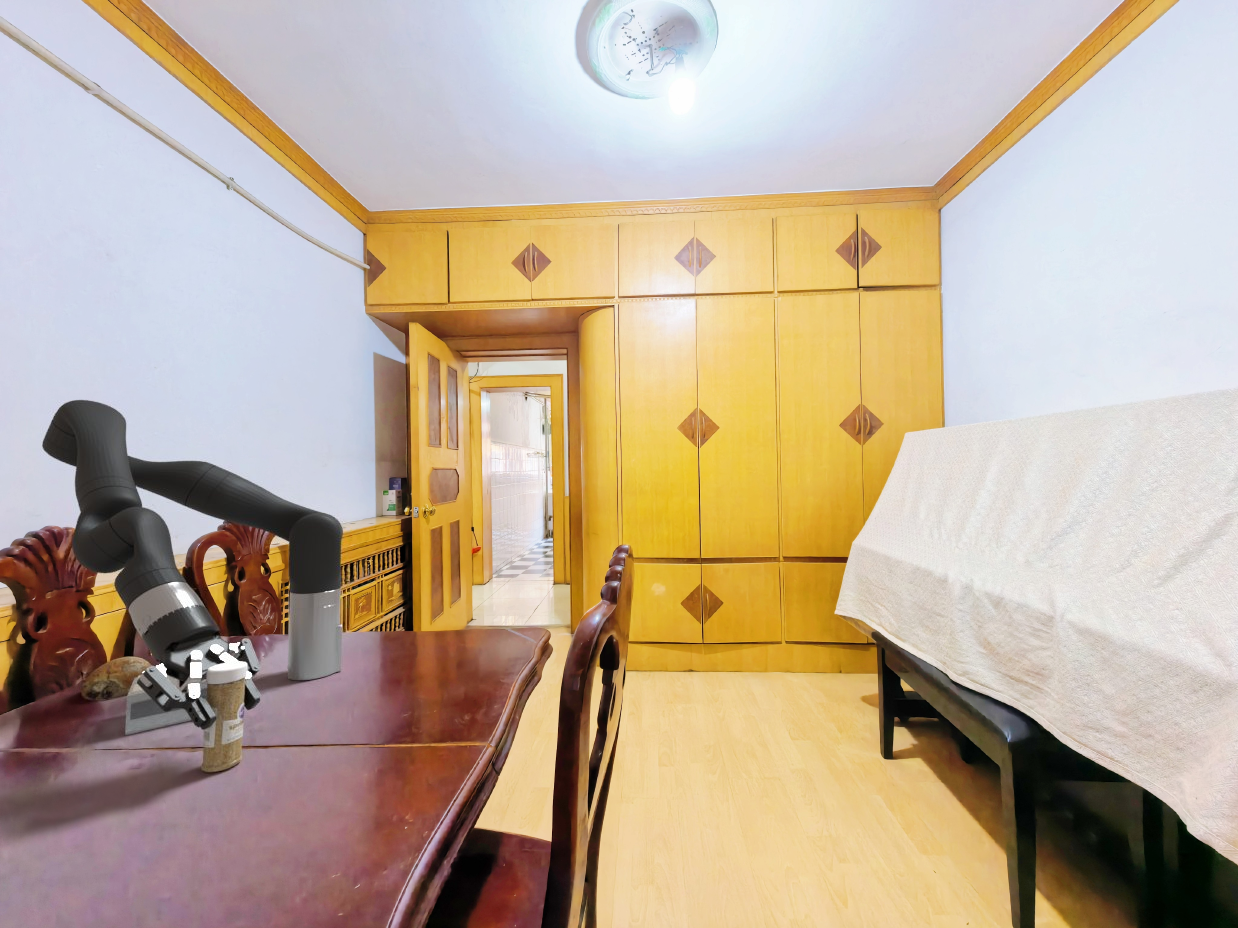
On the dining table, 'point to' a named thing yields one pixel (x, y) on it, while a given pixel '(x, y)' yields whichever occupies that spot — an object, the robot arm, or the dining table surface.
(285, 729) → the dining table surface
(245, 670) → the sprinkles bottle
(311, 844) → the dining table surface
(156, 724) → the box
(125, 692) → the bread roll
